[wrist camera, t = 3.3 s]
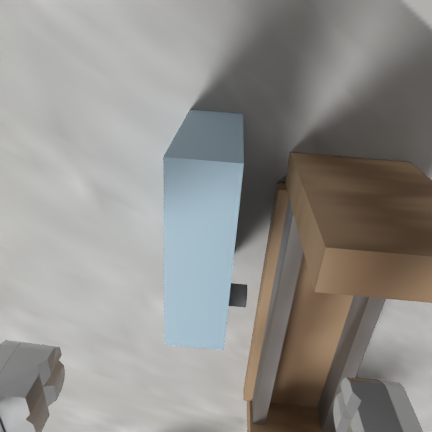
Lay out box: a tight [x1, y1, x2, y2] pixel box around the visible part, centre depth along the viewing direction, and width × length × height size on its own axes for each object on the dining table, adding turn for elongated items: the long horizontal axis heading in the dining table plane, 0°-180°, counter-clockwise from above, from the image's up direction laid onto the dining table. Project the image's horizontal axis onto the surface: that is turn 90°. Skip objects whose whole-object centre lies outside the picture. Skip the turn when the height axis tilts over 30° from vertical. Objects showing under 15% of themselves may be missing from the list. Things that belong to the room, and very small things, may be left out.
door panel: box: [164, 110, 247, 350], centre depth 19 cm, size 4×10×8 cm, turn 176°
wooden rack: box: [244, 152, 432, 432], centre depth 22 cm, size 8×24×10 cm, turn 176°
